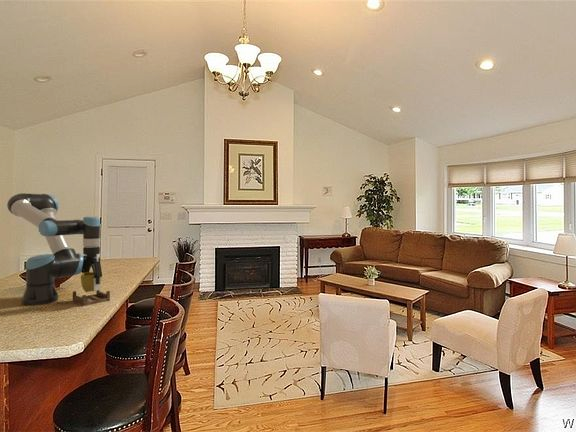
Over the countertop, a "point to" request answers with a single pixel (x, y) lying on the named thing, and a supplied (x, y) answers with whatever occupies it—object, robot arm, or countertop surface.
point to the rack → (95, 298)
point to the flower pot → (88, 281)
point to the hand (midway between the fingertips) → (91, 288)
